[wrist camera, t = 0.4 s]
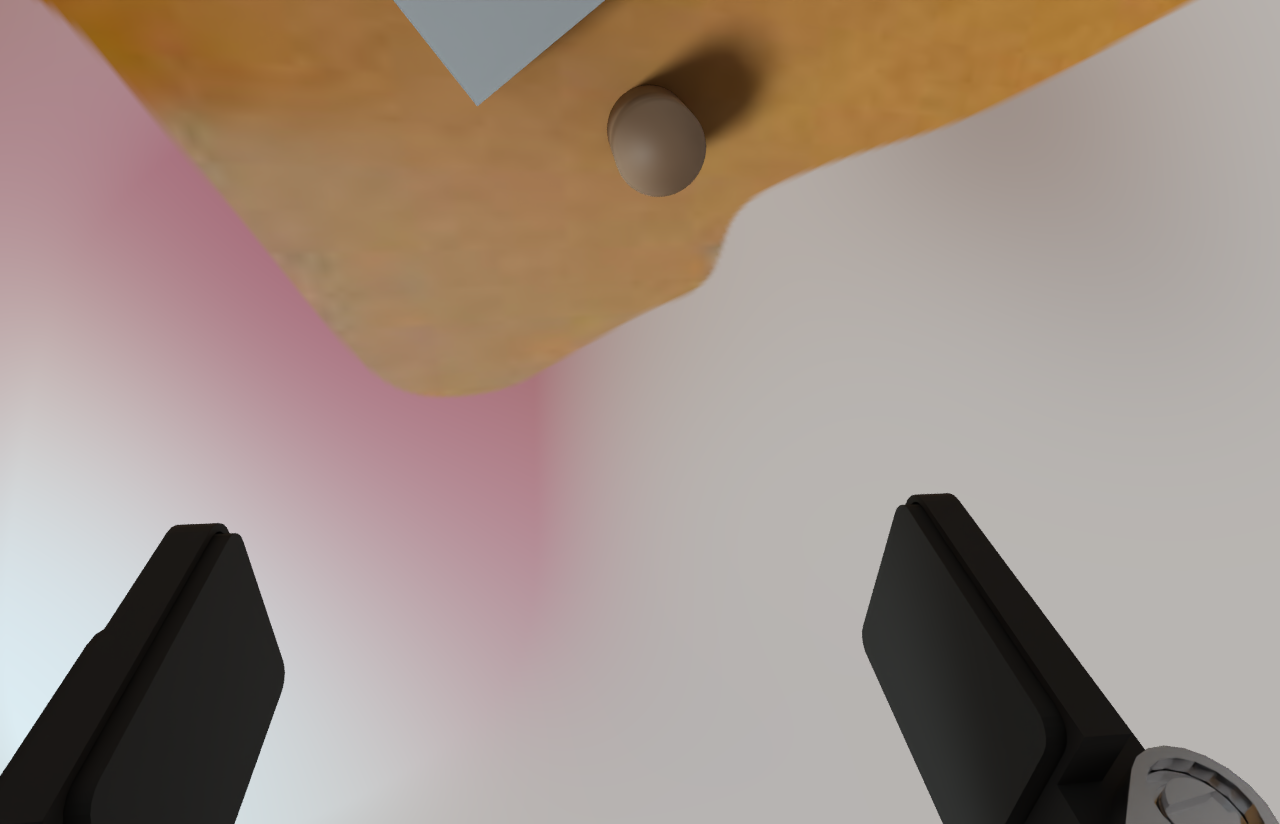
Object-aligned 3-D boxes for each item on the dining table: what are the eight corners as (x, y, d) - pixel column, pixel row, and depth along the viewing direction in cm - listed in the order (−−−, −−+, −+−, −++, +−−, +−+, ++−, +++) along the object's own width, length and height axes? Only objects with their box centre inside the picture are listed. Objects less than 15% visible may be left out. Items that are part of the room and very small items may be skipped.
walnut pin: (658, 66, 34) (672, 80, 30) (704, 138, 36) (722, 160, 32) (590, 120, 35) (595, 140, 31) (638, 188, 37) (649, 214, 33)
